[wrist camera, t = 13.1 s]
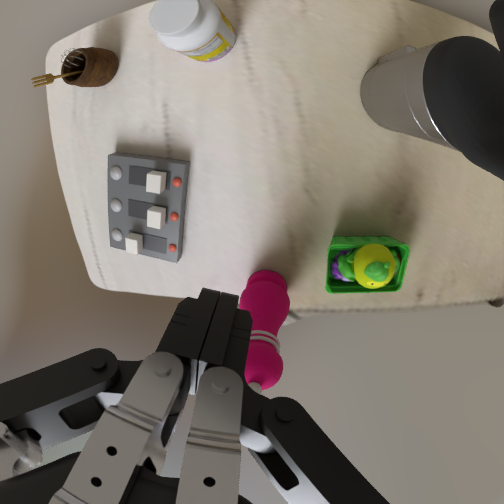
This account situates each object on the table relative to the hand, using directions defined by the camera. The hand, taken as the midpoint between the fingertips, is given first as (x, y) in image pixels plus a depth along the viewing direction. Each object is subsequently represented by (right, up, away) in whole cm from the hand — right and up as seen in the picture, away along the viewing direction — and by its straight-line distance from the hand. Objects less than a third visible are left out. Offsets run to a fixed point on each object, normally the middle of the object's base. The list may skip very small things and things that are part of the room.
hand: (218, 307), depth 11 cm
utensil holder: (-20, +29, +18) cm, 39 cm away
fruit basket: (+17, +3, +27) cm, 33 cm away
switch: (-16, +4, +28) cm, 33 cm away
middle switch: (-11, +8, +26) cm, 29 cm away
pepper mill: (+4, -3, +32) cm, 33 cm away
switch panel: (-14, +9, +28) cm, 33 cm away
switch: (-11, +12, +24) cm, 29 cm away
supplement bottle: (-4, +29, +16) cm, 33 cm away
